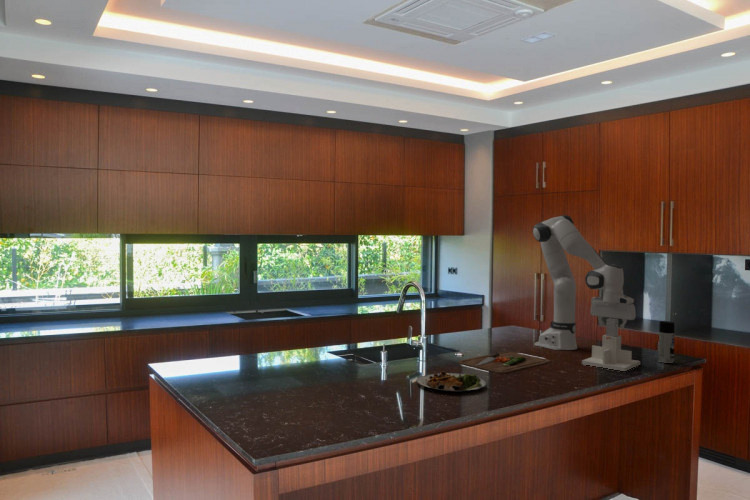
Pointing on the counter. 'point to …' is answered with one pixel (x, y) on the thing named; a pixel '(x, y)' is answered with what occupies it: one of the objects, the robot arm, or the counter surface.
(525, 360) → the chopping board
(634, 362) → the stand
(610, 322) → the column
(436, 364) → the counter surface
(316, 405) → the counter surface
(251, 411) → the counter surface
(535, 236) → the robot arm
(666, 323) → the spray can
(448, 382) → the plate of food
